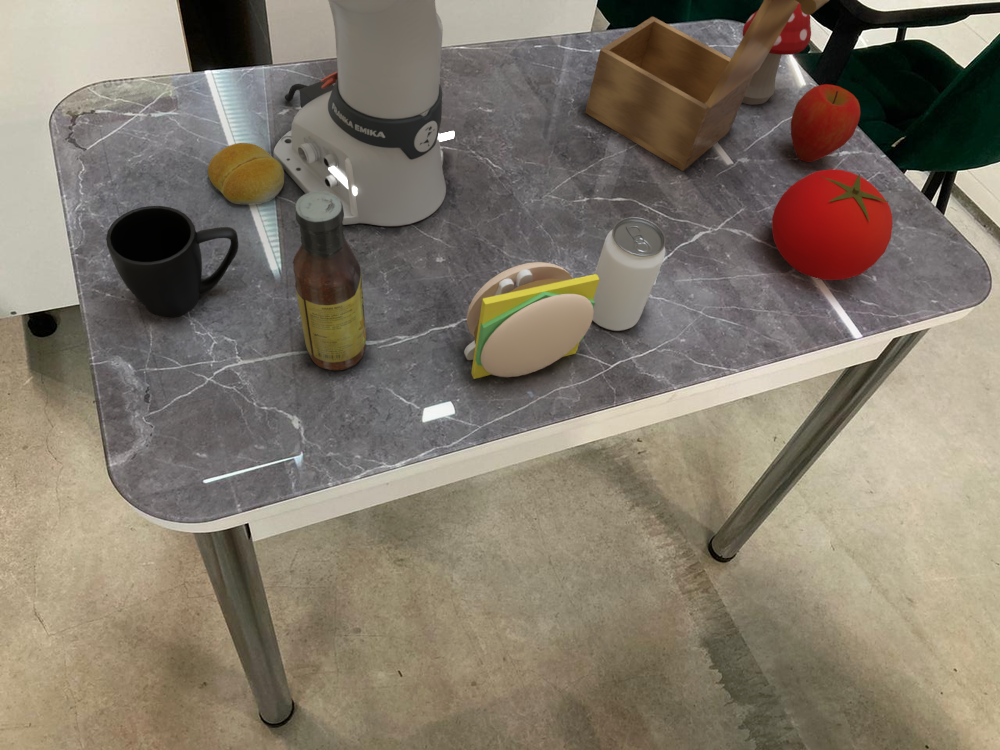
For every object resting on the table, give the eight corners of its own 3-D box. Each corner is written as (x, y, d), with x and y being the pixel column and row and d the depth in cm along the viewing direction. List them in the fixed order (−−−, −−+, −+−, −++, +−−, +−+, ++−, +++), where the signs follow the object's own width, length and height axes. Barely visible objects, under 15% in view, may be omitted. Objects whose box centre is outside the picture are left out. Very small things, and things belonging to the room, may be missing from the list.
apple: (831, 144, 116) (867, 78, 107) (837, 182, 111) (876, 116, 102) (773, 133, 116) (805, 66, 107) (777, 170, 111) (811, 104, 102)
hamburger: (554, 312, 91) (574, 236, 81) (584, 369, 86) (609, 296, 77) (454, 335, 87) (463, 258, 77) (481, 395, 83) (494, 322, 73)
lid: (777, -24, 85) (813, 1, 84) (828, -60, 92) (863, -37, 91) (705, 104, 100) (735, 127, 99) (753, 66, 106) (782, 87, 105)
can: (595, 336, 89) (621, 262, 79) (577, 293, 93) (599, 217, 83) (648, 328, 91) (679, 254, 81) (628, 286, 94) (656, 211, 85)
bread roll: (241, 218, 93) (236, 191, 90) (200, 176, 97) (193, 149, 93) (300, 190, 97) (297, 164, 94) (259, 150, 101) (254, 124, 97)
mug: (250, 319, 85) (237, 257, 77) (130, 332, 82) (103, 268, 74) (245, 263, 89) (233, 199, 82) (131, 273, 87) (106, 208, 79)
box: (584, 112, 113) (599, 49, 105) (634, 78, 120) (652, 16, 112) (682, 171, 108) (706, 109, 100) (729, 132, 115) (755, 70, 107)
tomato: (765, 209, 105) (802, 137, 96) (866, 242, 104) (914, 172, 95) (751, 274, 98) (790, 203, 89) (860, 310, 97) (912, 241, 87)
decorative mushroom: (763, 74, 124) (804, -20, 112) (792, 108, 120) (838, 14, 108) (708, 81, 122) (744, -15, 109) (736, 116, 117) (776, 20, 105)
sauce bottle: (378, 351, 84) (377, 210, 68) (333, 384, 81) (320, 245, 65) (336, 316, 87) (325, 172, 71) (291, 347, 83) (269, 204, 67)
